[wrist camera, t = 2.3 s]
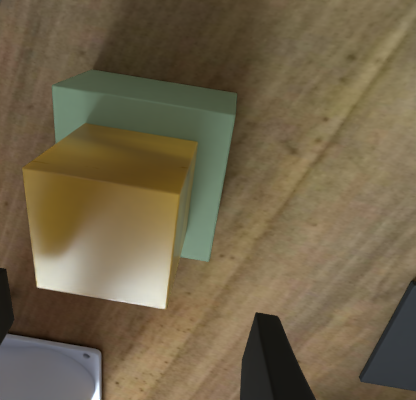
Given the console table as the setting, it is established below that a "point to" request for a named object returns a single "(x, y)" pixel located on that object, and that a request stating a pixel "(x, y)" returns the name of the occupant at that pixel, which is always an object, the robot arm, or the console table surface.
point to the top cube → (110, 213)
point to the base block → (159, 131)
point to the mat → (396, 348)
